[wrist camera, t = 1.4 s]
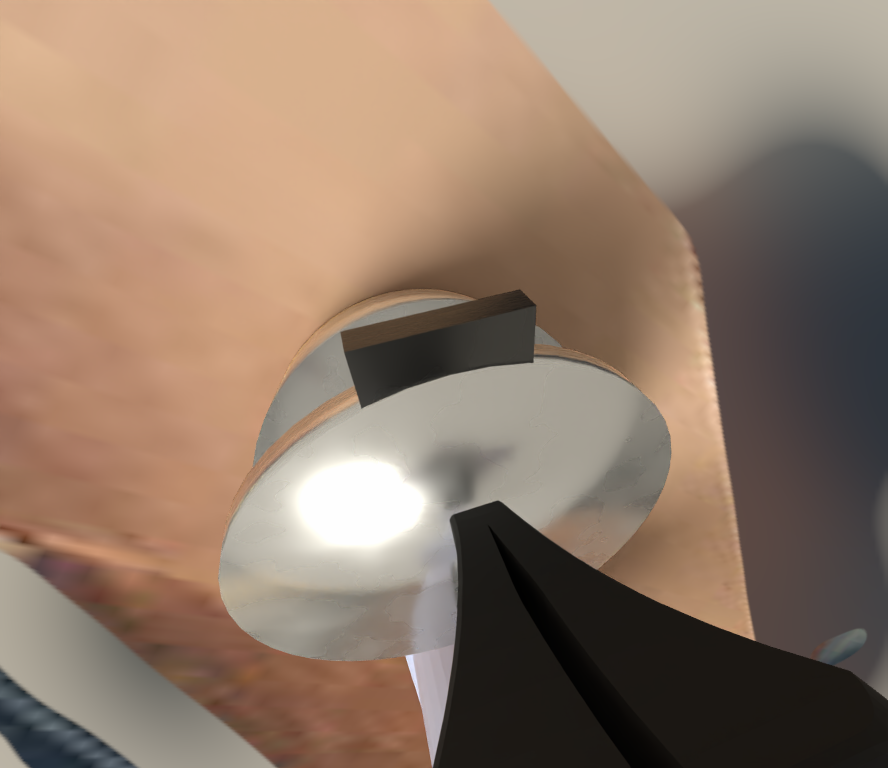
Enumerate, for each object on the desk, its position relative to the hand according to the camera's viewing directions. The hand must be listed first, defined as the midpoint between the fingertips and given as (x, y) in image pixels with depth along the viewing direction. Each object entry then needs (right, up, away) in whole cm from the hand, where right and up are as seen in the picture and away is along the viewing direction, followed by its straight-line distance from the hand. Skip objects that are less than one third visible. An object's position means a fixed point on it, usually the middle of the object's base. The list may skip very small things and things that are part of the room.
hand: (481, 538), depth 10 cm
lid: (0, -1, +3) cm, 3 cm away
